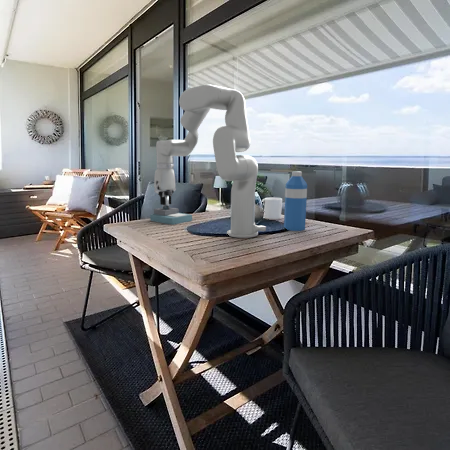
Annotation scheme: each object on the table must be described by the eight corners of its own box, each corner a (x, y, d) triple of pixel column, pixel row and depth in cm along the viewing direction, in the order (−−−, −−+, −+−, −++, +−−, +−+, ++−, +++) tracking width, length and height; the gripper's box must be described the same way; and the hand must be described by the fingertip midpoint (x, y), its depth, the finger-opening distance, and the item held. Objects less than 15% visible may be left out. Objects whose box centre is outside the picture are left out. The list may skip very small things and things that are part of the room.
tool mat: (187, 215, 165) (187, 214, 165) (176, 217, 160) (176, 216, 160) (178, 214, 169) (178, 213, 169) (167, 215, 163) (167, 215, 163)
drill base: (192, 220, 168) (192, 209, 166) (172, 224, 158) (172, 213, 157) (168, 216, 179) (167, 206, 177) (148, 220, 169) (147, 209, 168)
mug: (284, 218, 176) (285, 198, 173) (277, 220, 168) (278, 200, 166) (265, 216, 181) (265, 196, 179) (257, 218, 174) (257, 198, 172)
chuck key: (173, 209, 168) (172, 191, 166) (168, 210, 165) (167, 191, 164) (163, 208, 172) (163, 190, 170) (159, 208, 170) (158, 190, 168)
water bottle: (281, 229, 147) (283, 171, 142) (286, 225, 156) (288, 170, 151) (303, 231, 144) (306, 172, 139) (306, 227, 152) (309, 171, 147)
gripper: (172, 166, 173) (173, 202, 177) (146, 166, 161) (147, 205, 164) (182, 166, 168) (183, 203, 172) (156, 167, 156) (157, 207, 160)
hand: (165, 204), depth 168 cm, fingers closed on chuck key, 3 cm apart
